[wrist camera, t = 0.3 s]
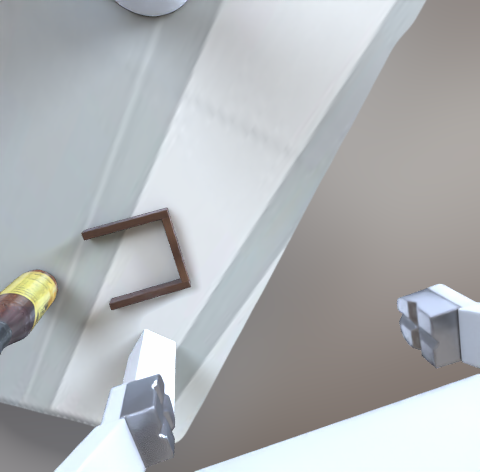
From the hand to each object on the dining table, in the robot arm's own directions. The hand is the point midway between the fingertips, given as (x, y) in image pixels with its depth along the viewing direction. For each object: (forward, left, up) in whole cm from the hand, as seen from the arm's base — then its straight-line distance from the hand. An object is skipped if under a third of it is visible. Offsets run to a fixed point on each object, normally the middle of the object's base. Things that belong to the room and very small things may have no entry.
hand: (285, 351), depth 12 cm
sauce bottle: (+9, -29, -48) cm, 57 cm away
